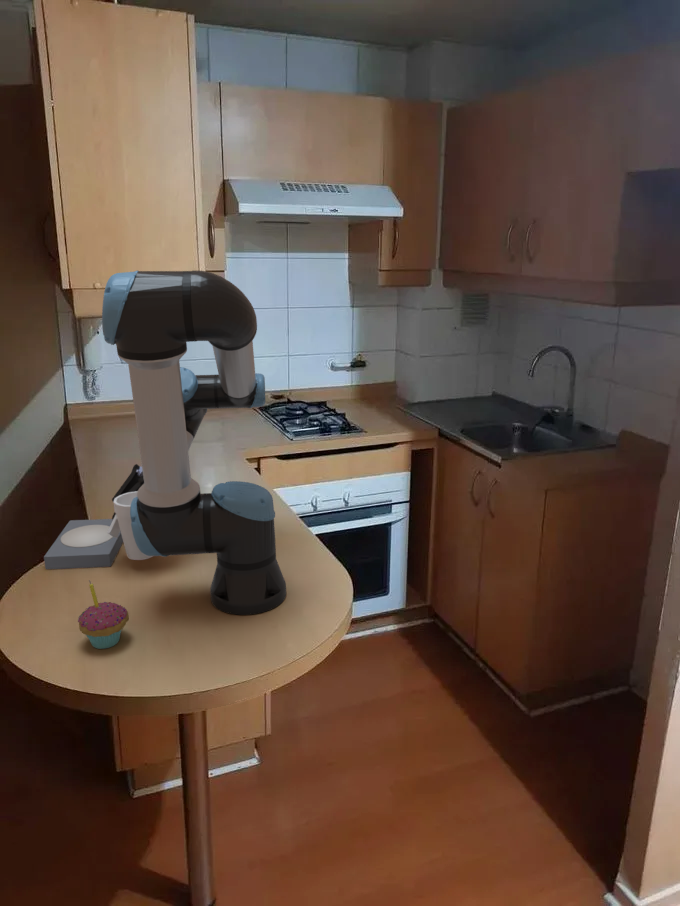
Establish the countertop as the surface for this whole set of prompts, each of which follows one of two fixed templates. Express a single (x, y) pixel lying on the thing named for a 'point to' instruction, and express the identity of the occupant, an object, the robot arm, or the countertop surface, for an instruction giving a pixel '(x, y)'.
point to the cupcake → (103, 622)
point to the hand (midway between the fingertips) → (130, 539)
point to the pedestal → (84, 545)
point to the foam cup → (127, 525)
